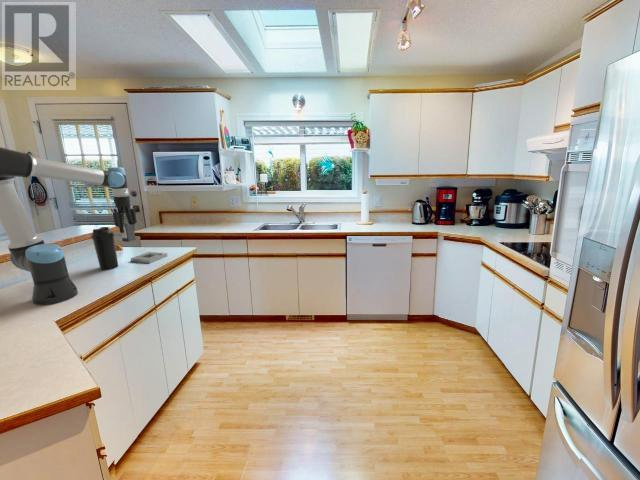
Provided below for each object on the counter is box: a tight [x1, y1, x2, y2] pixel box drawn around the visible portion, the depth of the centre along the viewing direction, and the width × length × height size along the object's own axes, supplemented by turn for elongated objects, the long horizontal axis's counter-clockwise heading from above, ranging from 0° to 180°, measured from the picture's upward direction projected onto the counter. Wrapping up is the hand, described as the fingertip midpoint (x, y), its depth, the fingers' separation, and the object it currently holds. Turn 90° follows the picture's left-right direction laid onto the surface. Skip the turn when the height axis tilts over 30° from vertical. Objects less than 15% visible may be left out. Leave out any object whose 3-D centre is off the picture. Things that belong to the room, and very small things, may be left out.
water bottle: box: [91, 226, 119, 271], centre depth 167 cm, size 10×10×23 cm
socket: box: [130, 251, 168, 264], centre depth 184 cm, size 14×14×3 cm
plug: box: [120, 222, 137, 243], centre depth 169 cm, size 4×4×10 cm
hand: (128, 236), depth 170 cm, fingers closed on plug, 4 cm apart
